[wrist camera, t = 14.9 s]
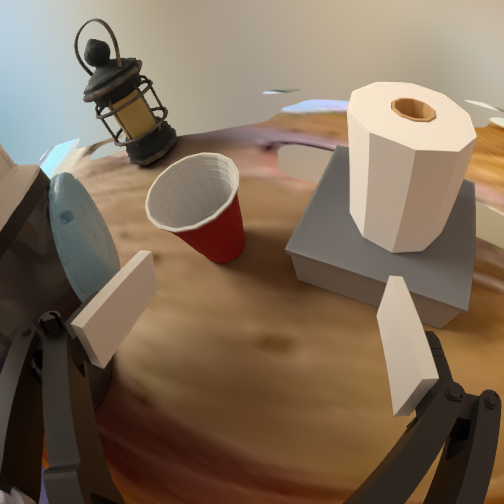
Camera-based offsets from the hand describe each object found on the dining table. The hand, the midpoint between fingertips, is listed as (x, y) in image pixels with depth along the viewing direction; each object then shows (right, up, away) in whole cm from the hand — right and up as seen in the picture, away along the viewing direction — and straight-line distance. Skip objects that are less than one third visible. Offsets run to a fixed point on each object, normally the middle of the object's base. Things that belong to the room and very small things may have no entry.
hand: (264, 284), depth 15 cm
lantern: (-22, +24, +42) cm, 53 cm away
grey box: (+16, +2, +16) cm, 23 cm away
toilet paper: (+14, +6, +11) cm, 19 cm away
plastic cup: (-4, +2, +23) cm, 24 cm away
